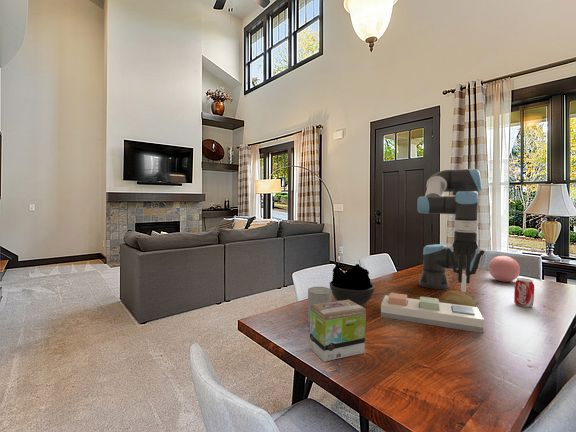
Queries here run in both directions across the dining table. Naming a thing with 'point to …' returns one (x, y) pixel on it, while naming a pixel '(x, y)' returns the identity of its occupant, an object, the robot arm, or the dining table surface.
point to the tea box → (337, 329)
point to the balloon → (504, 268)
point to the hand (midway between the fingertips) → (463, 290)
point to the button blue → (462, 310)
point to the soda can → (524, 292)
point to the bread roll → (458, 298)
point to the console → (433, 315)
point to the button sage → (429, 303)
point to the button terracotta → (397, 299)
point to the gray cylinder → (318, 297)
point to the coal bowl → (352, 285)
